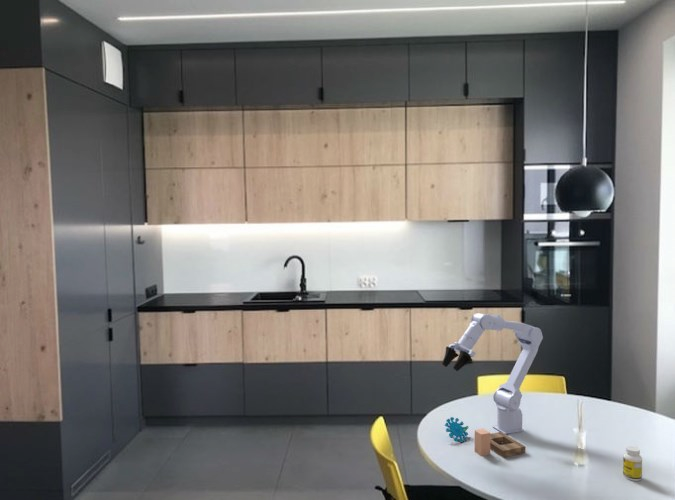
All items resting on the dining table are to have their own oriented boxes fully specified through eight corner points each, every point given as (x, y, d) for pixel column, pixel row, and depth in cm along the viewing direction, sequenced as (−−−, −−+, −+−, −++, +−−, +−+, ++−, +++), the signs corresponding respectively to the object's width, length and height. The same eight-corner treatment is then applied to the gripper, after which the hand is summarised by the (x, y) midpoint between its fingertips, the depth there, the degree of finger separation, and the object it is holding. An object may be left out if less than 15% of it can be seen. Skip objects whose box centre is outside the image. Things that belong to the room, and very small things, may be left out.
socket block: (500, 438, 198) (500, 431, 198) (525, 453, 185) (525, 446, 185) (479, 442, 195) (479, 435, 195) (503, 457, 182) (503, 450, 181)
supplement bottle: (619, 473, 169) (619, 445, 169) (634, 472, 170) (635, 444, 169) (630, 481, 164) (630, 452, 163) (645, 481, 164) (646, 451, 164)
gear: (452, 441, 192) (443, 416, 198) (444, 448, 195) (435, 423, 202) (474, 439, 197) (464, 415, 203) (466, 446, 200) (456, 422, 207)
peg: (483, 449, 188) (483, 428, 188) (490, 454, 184) (490, 432, 184) (474, 451, 187) (474, 430, 186) (481, 456, 183) (481, 434, 183)
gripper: (451, 330, 202) (432, 357, 199) (473, 335, 189) (453, 365, 185) (463, 341, 204) (444, 368, 201) (485, 347, 191) (465, 376, 187)
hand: (449, 367), depth 193 cm, fingers open, 7 cm apart
